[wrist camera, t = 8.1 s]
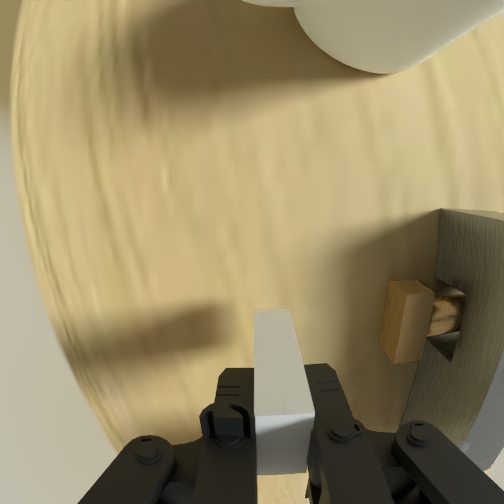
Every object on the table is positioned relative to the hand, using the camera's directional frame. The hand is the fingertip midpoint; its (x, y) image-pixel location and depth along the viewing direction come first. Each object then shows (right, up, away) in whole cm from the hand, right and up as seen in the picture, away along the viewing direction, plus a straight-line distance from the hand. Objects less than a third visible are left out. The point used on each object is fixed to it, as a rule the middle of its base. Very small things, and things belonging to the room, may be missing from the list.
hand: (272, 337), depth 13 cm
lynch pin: (+13, 0, +3) cm, 13 cm away
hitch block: (+12, -2, +3) cm, 13 cm away
